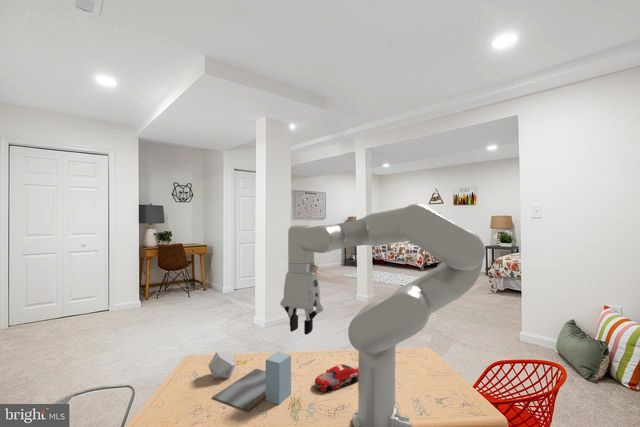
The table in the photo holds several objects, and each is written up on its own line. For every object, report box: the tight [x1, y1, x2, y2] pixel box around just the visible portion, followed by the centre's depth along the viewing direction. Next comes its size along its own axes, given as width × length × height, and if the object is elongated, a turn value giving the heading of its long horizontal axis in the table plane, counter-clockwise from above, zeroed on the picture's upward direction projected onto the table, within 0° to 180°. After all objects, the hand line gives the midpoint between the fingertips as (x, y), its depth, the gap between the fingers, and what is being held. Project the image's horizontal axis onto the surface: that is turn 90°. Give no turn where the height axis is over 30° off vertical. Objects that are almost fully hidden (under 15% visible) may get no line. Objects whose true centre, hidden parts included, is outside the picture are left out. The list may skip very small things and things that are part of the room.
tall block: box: [265, 351, 292, 406], centre depth 97 cm, size 5×6×12 cm
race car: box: [314, 363, 358, 393], centre depth 105 cm, size 16×7×5 cm, turn 121°
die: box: [207, 351, 237, 379], centre depth 109 cm, size 8×9×10 cm
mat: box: [212, 368, 266, 413], centre depth 101 cm, size 14×20×1 cm
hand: (301, 330), depth 93 cm, fingers open, 4 cm apart
